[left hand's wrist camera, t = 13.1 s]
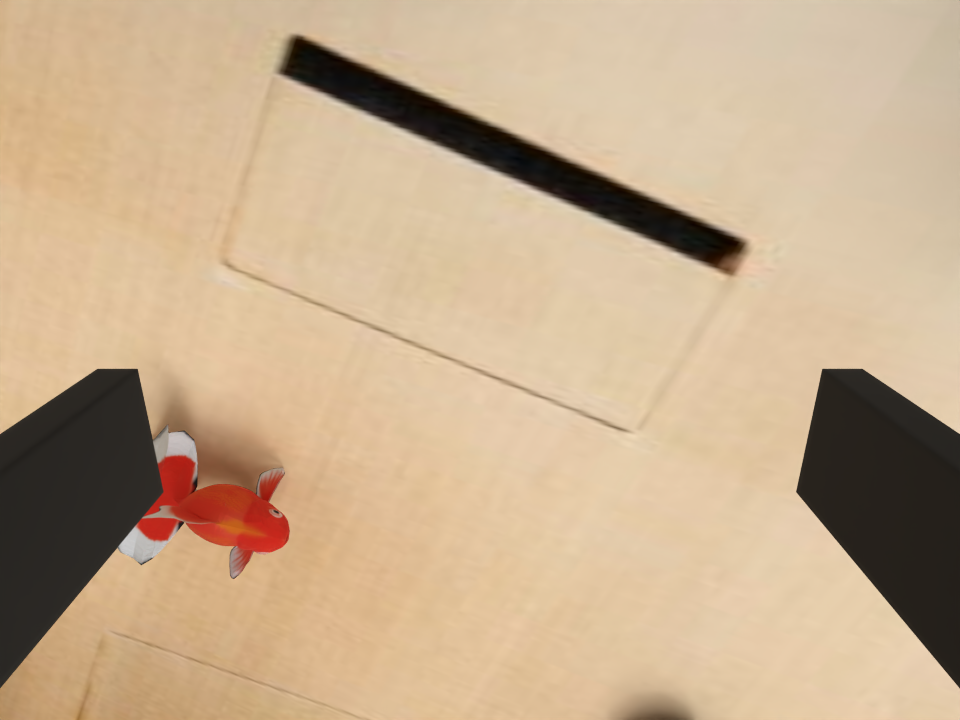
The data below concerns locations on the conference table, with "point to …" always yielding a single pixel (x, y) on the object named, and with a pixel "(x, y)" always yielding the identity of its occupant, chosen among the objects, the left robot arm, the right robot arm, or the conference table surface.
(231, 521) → the fish
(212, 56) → the conference table surface
